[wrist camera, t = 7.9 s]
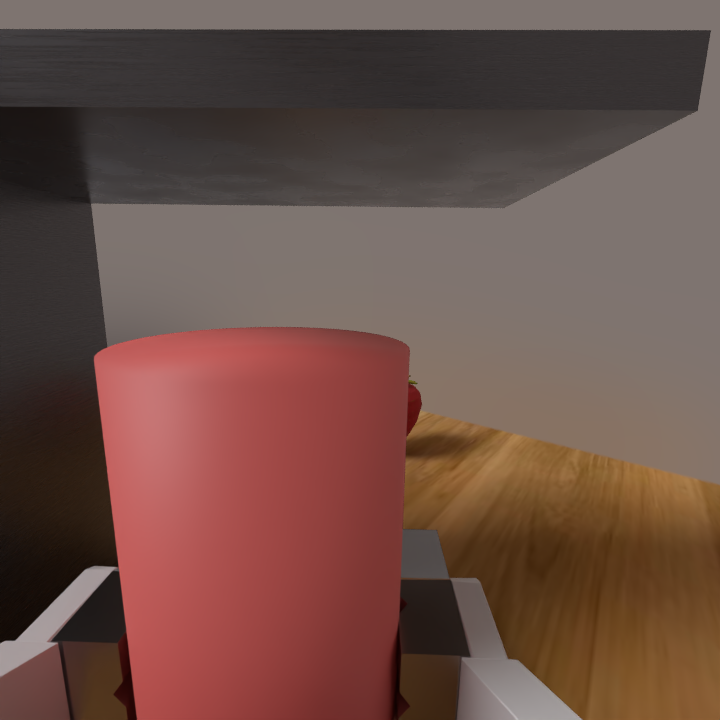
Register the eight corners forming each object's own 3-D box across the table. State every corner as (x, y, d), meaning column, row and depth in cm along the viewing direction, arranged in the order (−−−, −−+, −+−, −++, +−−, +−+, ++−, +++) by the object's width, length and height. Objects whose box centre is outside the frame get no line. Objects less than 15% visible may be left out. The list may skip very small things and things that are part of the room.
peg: (125, 1144, 6) (-8, 377, 4) (221, 808, 10) (185, 325, 8) (390, 1164, 6) (429, 385, 4) (383, 816, 10) (399, 328, 8)
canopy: (-120, 829, 14) (-361, 28, 9) (116, 562, 26) (68, 173, 22) (573, 860, 13) (710, 30, 8) (473, 573, 26) (506, 177, 21)
